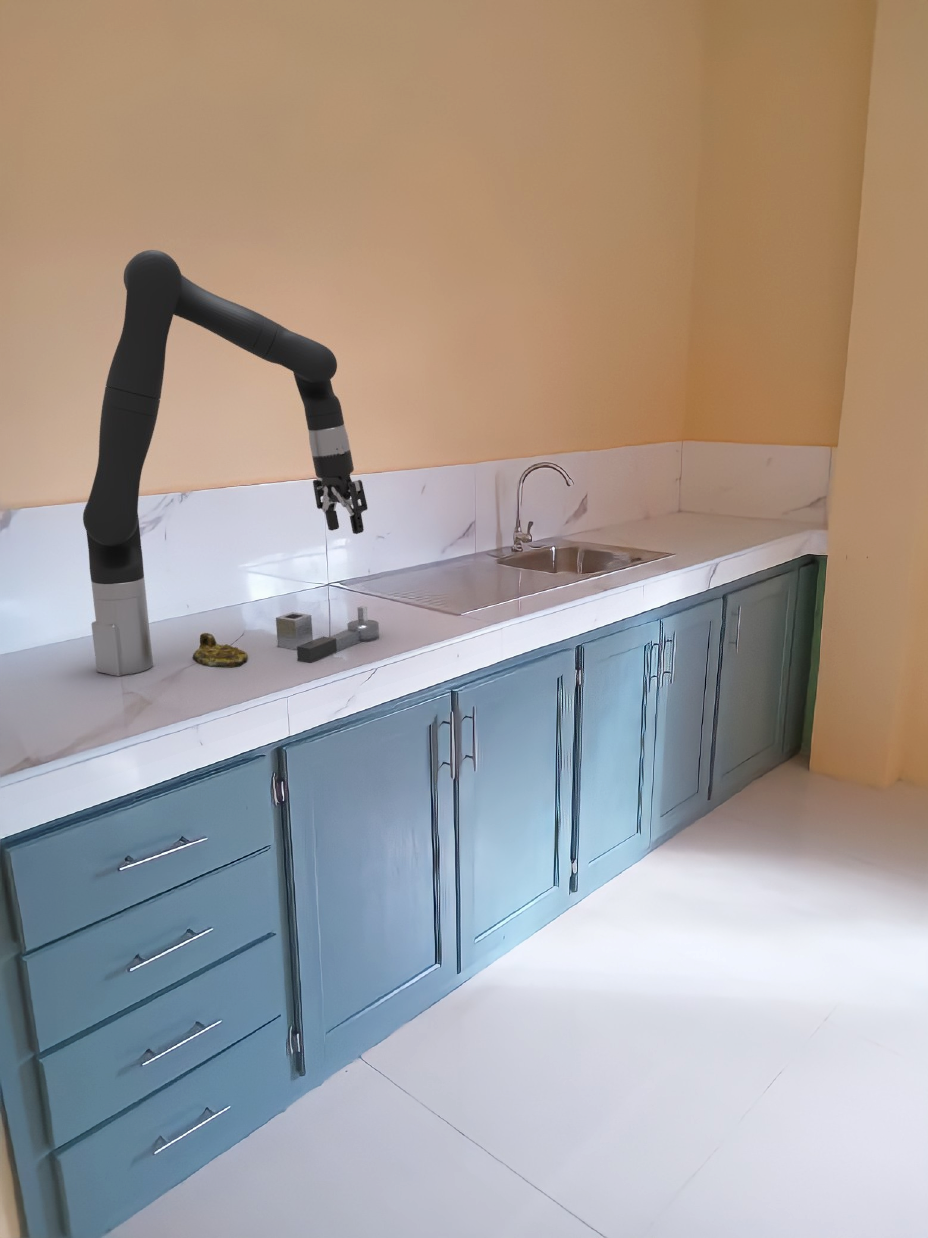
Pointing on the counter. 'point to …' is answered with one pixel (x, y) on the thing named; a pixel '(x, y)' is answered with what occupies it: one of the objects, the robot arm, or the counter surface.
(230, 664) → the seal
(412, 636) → the counter surface
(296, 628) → the hollow square tube
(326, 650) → the ratchet
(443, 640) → the counter surface
